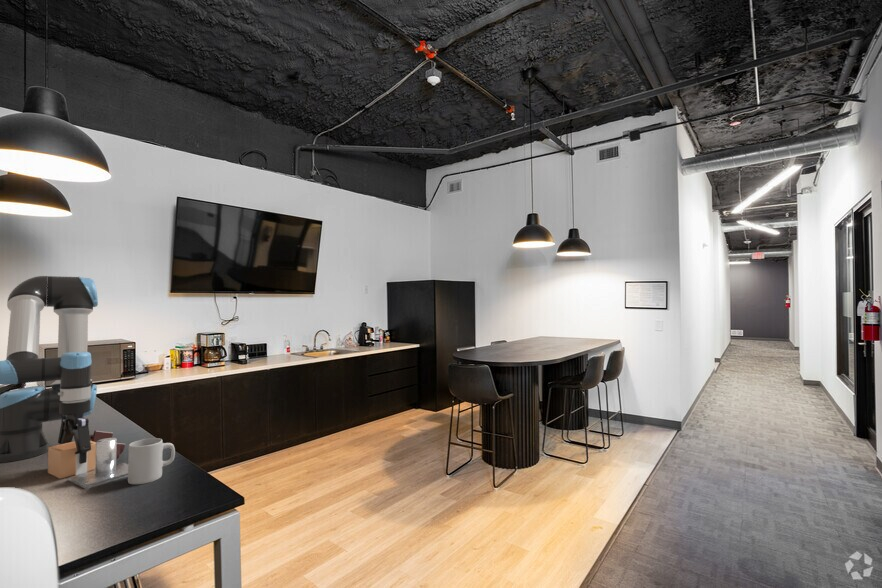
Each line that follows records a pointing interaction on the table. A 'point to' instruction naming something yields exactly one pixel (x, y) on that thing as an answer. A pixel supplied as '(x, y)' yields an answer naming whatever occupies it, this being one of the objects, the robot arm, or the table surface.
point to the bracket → (103, 435)
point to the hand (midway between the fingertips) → (73, 469)
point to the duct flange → (103, 466)
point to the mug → (147, 460)
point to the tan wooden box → (68, 459)
